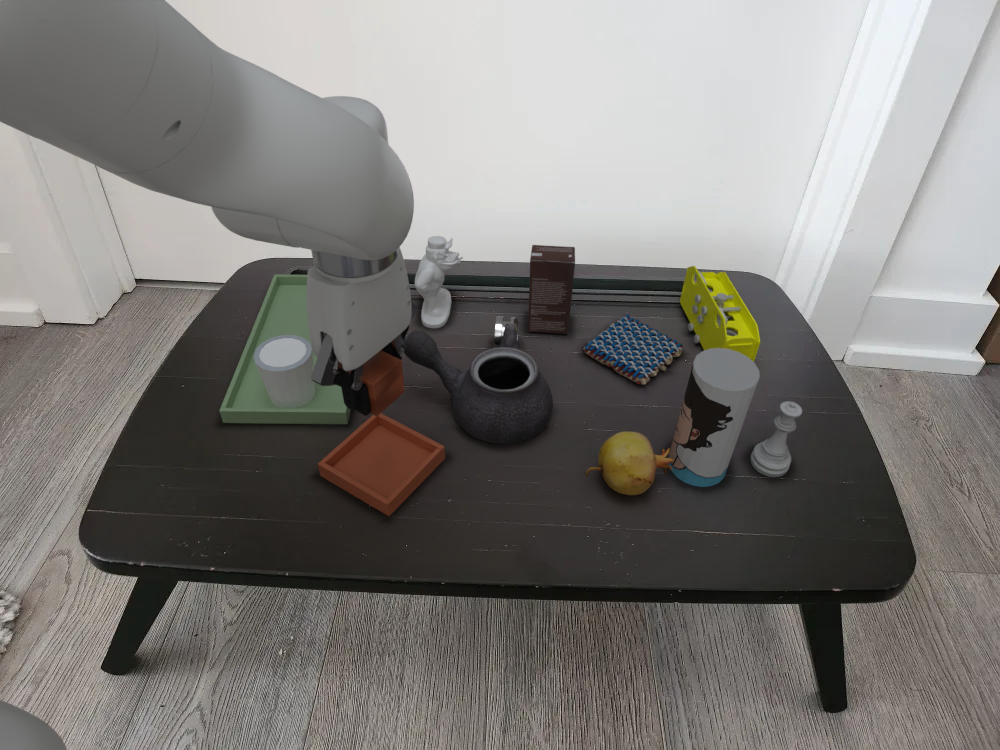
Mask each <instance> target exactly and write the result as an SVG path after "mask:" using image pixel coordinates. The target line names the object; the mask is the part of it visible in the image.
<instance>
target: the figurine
mask: <svg viewBox="0 0 1000 750" xmlns="http://www.w3.org/2000/svg"><path fill="white" fill-rule="evenodd" d="M453 241H454V238H453V237H451V239H449V241H447V238H445V237H443V236H441V235H432V236H429V237H428V239H427V245H426V247H425V254H424V255H423V256H422V258H421V259H420V262H419V264H418V267H417V271H416V273H415V277H414V288H415V290H416V292H417V293H418V294H419V295H420V296H421V297H422V298H423V302H422V308H421V313H420V319H421V323H422V325H423V326H424V327H426V328H428V329H440V328H442V327H444V326H445V325H446V323H447V322H448V320H449V317H450V314H451V309H452V295H451V292H450V290H448V289H446V288H443V287H442V286H443V284H444V282H445V279H446V278H445V275H446V272H450V271H451V270H453V269H455V268H456V266H459V265H460V263H461V260H462V259H464V256H460V253H459V252H458V251H451V250H450V249H451V248H452V247H453Z"/></svg>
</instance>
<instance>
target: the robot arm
mask: <svg viewBox="0 0 1000 750" xmlns="http://www.w3.org/2000/svg"><path fill="white" fill-rule="evenodd" d="M0 123H2V124H4V125H6V126H9V127H11V128H13V129H14V130H17V131H19V132H20V133H21V132H22V133H24V134H26V135H28V136H30V137H33V138H34V139H38V140H40V141H43V142H45V143H47V144H49V145H51V146H53V147H56V148H57V149H60V150H62V151H64V152H66V153H68V154H70V155H72V156H75V157H77V158H79V159H81V160H83V161H85V162H88V163H90V164H92V165H94V166H96V167H98V168H100V169H102V170H103V171H105V172H108V173H110V174H112V175H115V176H117V177H119V178H121V179H123V180H125V181H127V182H129V183H132V184H134V185H137V186H139V187H141V188H144V189H146V190H149V191H151V192H155V193H159V194H162V195H166V196H169V197H172V198H176V199H179V200H183V201H186V202H190V203H194V204H197V205H202V206H206V207H211V210H212V212H213V214H214V216H215V218H216V219H217V220H218V222H219V223H220V224H221V225H222V226H223V228H225V229H227V230H228V231H230V232H231V233H233V234H235V235H236V236H237V235H238V236H240V237H242V238H245V239H249V240H252V241H257V242H263V243H268V244H272V245H279V246H284V247H290V248H301V249H305V250H309V251H311V256H312V263H313V265H312V266H311V267H310V268H308V270H307V274H306V275H307V289H306V299H307V316H308V326H309V333H310V340H311V345H312V350H313V353H314V355H315V356H317V357H318V358H317V361H316V364H315V367H314V370H313V373H312V377H311V379H312V381H314V382H316V383H318V384H320V385H321V386H333V385H338V386H340V387H341V388H342V394H343V400H344V404H345V405H346V406H347V407H348V408H349V409H351V411H354V412H358V413H360V414H362V415H363V416H365V417H367V416H369V415H370V414H371V407H370V400H369V393H368V387H367V385H366V384H364V383H363V368H364V363H365V362H366V361H368V360H369V359H370V358H371V357H373V356H374V355H375V354H376V353H378V352H379V351H380V350H382V351H384V352H386V353H388V354H390V355H392V356H394V357H396V358H398V359H400V360H402V361H403V358H402V356H401V355H402V354H404V350H405V344H404V339H405V338H406V337H407V335H408V332H409V330H410V324H411V322H412V320H413V318H414V317H415V315H416V313H417V311H418V306H417V304H416V303H415V302H413V301H412V296H411V295H412V294H411V288H410V281H409V276H408V271H407V267H406V263H405V259H404V255H403V253H402V252H403V251H402V250H401V246H402V245H403V244H404V242H405V240H406V239H407V237H408V234H409V233H410V230H411V227H412V224H413V220H414V219H413V218H414V212H415V198H414V197H415V196H414V190H413V186H412V181H411V179H410V175H409V173H408V171H407V169H406V167H405V164H404V163H403V162H402V159H401V158H400V157H399V155H398V154H397V152H396V151H395V150H394V149H393V148H392V147H391V145H390V144H389V135H388V127H387V121H386V119H385V116H384V113H382V111H381V110H380V108H379V107H378V106H376V105H375V104H374V103H372V102H371V101H369V100H366V99H364V98H360V97H356V96H346V95H341V96H340V95H335V96H334V95H333V96H325V97H321V96H319V95H317V94H315V93H312V92H310V91H308V90H306V89H304V88H302V87H300V86H298V85H296V84H294V83H292V82H290V81H289V80H287V79H285V78H282V77H281V76H279V75H277V74H275V73H273V72H271V71H270V70H267V69H265V68H263V67H262V66H259V65H257V64H256V63H253V62H250V61H248V60H246V59H244V58H242V57H239V56H237V55H235V54H233V53H231V52H229V51H227V50H225V49H223V48H221V47H220V46H218V45H217V44H216V43H215V42H213V41H212V40H211V39H210V38H208V37H207V35H205V34H204V33H203V32H202V31H200V30H199V29H198V28H197V27H196V26H195V25H193V24H192V22H191V21H189V20H188V19H187V18H186V17H184V16H183V15H182V13H180V12H179V11H178V10H177V9H176V8H174V7H173V6H172V5H171V4H170V3H169V2H168V1H166V0H0ZM333 368H334V369H333ZM402 369H403V367H402ZM350 370H351V373H349V372H346V371H350ZM403 370H404V369H403ZM0 750H68V749H67V746H66V744H65V742H64V740H63V739H62V737H61V736H60V735H59V733H58V732H57V731H56V730H55V729H54V728H53V727H52V726H51V725H49V724H48V723H47V722H45V721H44V720H43V719H41V718H40V717H38V716H36V715H34V714H33V713H31V712H29V711H26V710H25V709H22V707H18V706H16V705H14V704H11V703H9V702H6V701H4V700H3V699H2V700H1V699H0Z"/></svg>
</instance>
